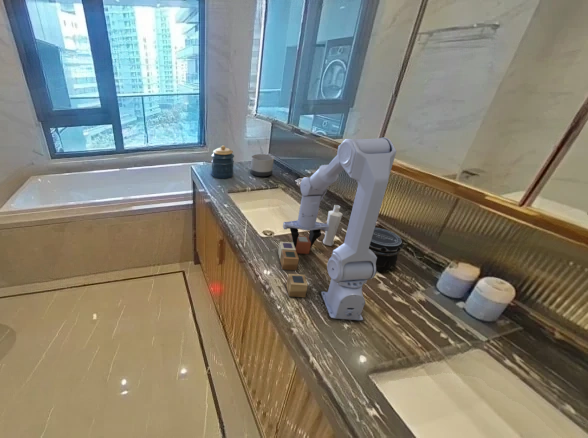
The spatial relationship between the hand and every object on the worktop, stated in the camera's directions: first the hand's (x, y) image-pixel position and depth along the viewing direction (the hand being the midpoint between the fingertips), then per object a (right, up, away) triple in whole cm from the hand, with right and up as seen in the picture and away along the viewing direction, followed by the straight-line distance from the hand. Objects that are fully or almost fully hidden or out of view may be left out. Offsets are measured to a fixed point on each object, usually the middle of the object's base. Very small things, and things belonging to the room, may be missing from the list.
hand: (301, 246), depth 100 cm
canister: (-22, +36, +70) cm, 81 cm away
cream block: (-6, -3, -3) cm, 8 cm away
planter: (+1, +36, +70) cm, 79 cm away
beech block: (-7, -5, -7) cm, 11 cm away
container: (+21, -4, -5) cm, 23 cm away
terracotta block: (0, -1, +1) cm, 1 cm away
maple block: (-8, -11, -17) cm, 22 cm away
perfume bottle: (+11, +1, +5) cm, 12 cm away
